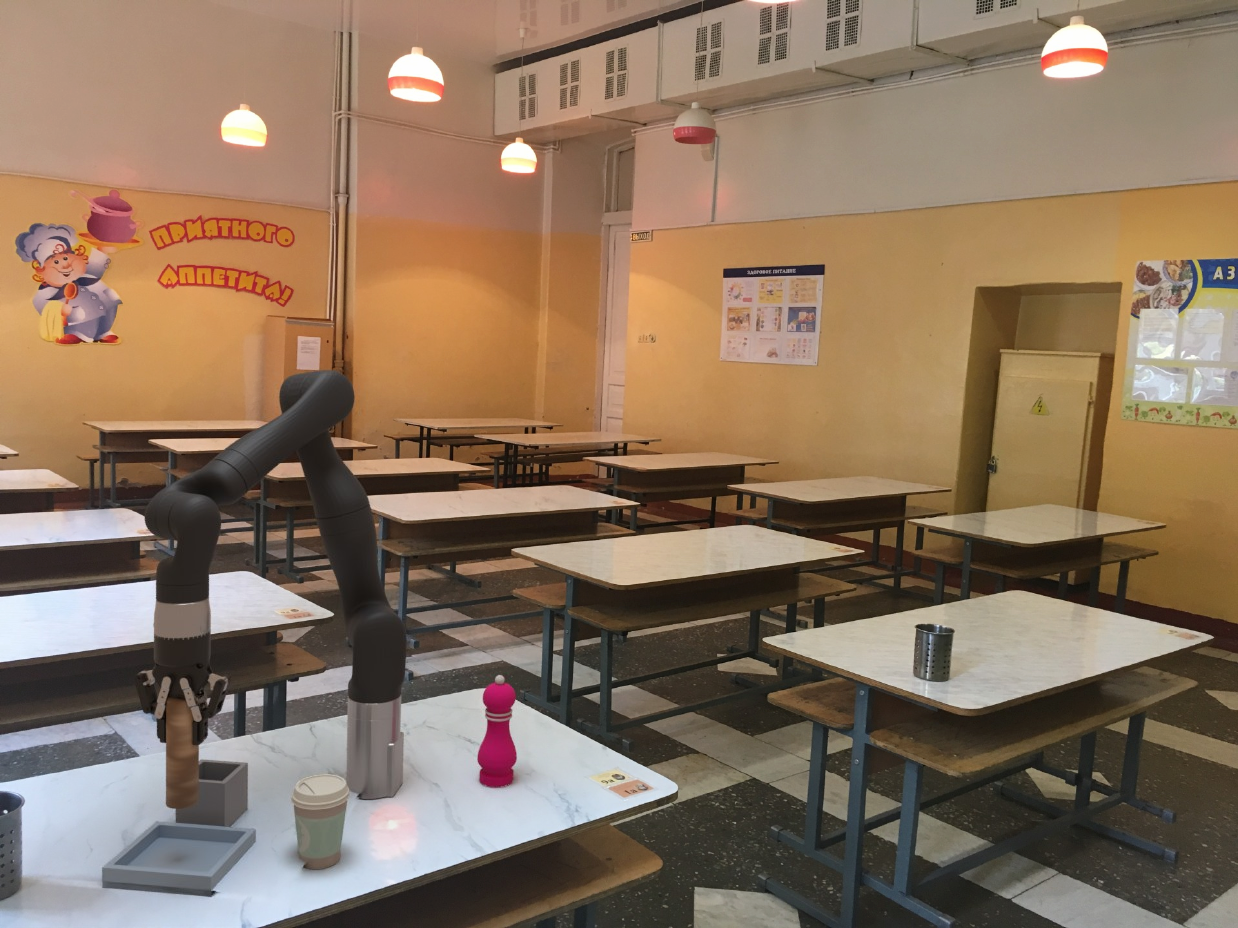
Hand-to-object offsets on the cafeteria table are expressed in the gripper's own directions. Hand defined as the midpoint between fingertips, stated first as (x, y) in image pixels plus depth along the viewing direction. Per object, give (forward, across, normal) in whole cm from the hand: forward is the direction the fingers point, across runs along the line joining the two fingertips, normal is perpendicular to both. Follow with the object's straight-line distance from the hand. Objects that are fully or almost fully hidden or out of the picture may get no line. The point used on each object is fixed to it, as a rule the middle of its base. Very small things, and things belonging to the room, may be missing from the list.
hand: (182, 741), depth 140 cm
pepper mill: (+19, -40, -37) cm, 58 cm away
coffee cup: (+19, -19, -5) cm, 28 cm away
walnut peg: (+9, 0, 0) cm, 9 cm away
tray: (+19, 0, 0) cm, 19 cm away
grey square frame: (+19, +2, -13) cm, 23 cm away
